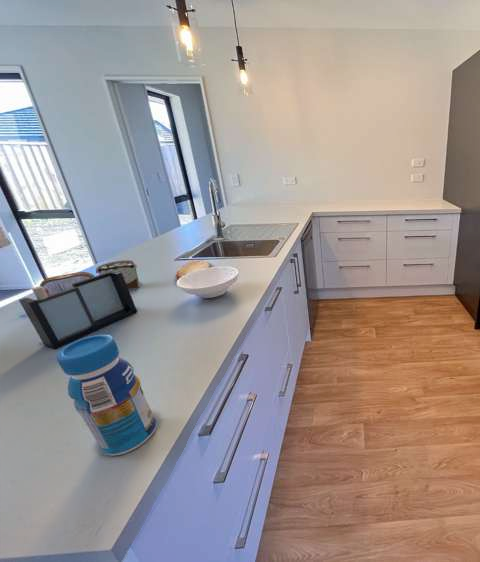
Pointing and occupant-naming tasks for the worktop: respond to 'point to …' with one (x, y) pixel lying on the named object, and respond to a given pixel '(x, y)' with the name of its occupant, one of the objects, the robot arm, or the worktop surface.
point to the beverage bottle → (107, 394)
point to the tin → (63, 282)
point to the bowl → (208, 281)
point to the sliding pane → (64, 311)
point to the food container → (122, 266)
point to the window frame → (100, 301)
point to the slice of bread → (191, 268)
